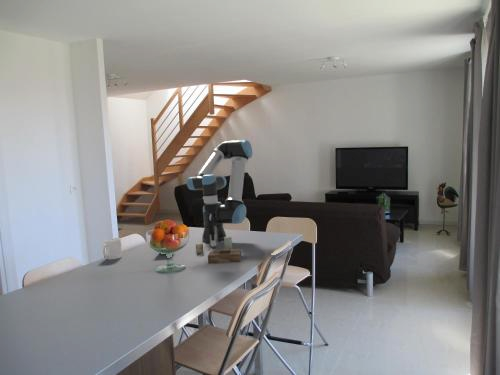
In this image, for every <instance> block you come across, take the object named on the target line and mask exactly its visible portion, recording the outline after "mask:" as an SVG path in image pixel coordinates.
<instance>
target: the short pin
mask: <svg viewBox="0 0 500 375" xmlns="http://www.w3.org/2000/svg"><path fill="white" fill-rule="evenodd" d="M204 253H205V252H204V243H202V242H198V243H195V254H197V255H198V254H199V255H201V254H204Z"/></svg>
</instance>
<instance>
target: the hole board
mask: <svg viewBox="0 0 500 375" xmlns="http://www.w3.org/2000/svg"><path fill="white" fill-rule="evenodd" d="M242 256H243V253H242V248H232V249H225V248H223V249H222V248H219V249H218V248H215V249H210V251H209V253H208V254H207V265H208V264H209V265H210V264H212V265H213V264H233V263H235V264H236V263H237V264H238V263H241V261H242Z"/></svg>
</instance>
